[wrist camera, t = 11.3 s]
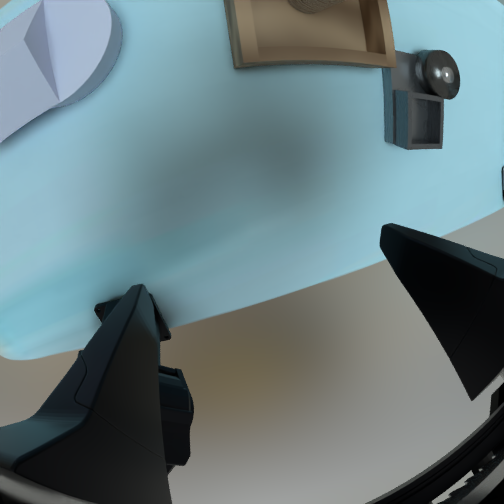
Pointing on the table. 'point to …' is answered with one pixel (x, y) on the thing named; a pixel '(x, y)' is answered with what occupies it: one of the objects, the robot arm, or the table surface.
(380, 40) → the tray
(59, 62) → the wedge on round base
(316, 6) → the pin
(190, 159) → the table surface
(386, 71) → the plate
